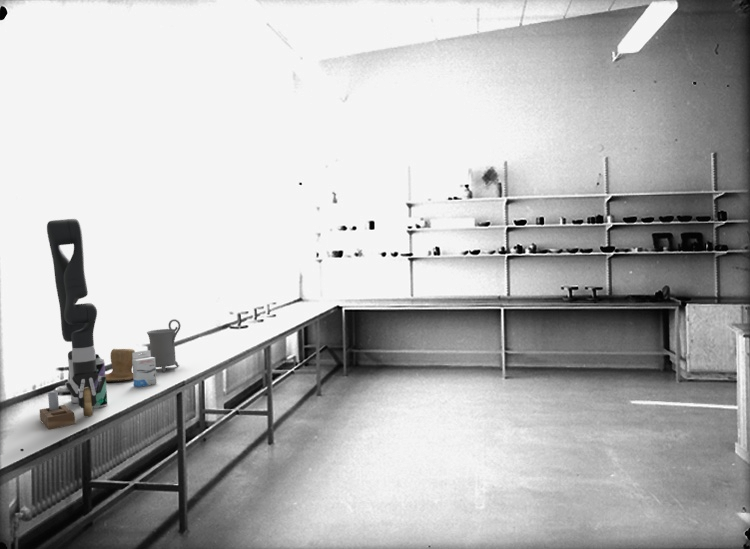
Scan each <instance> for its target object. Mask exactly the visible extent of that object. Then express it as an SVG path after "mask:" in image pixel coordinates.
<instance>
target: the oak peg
mask: <svg viewBox="0 0 750 549" xmlns="http://www.w3.org/2000/svg"><path fill="white" fill-rule="evenodd" d="M83 398H84V408H82V413H83V417H84V416H88V417H92V416H94V412H93V411H94V410H93V409H94V408H92V395H91V388H90V387H85V388H84V391H83Z"/></svg>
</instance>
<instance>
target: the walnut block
mask: <svg viewBox="0 0 750 549" xmlns="http://www.w3.org/2000/svg"><path fill="white" fill-rule="evenodd" d="M39 420H41V421H42V422H43V423H42V422H41V421H40V422H41V423H42V424H43V426H45V427H46V428H47V429H48V430H52V429H57V427H58V428H61V427H62V426H63V427H67V426H66V425H68V426H71V425H70V424H72V425H76V418H75V412H74V411H73V410H72V409H71V408H69V407H68V406H66V405H65V404H63V405H59V410H53V411H49V407H47V408H46V407H45V408H42V409H41V408H40V409H39ZM63 427H62V428H63Z"/></svg>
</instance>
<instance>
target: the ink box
mask: <svg viewBox="0 0 750 549" xmlns="http://www.w3.org/2000/svg"><path fill="white" fill-rule="evenodd" d="M132 357H133V360H132V364H133V366H132V373H133V379H132V380H133V386H134V387H137V388H140V387H145V386H146V387H147V386H151V384H152V385H156V383H157V382H158V381H157V369H156V368H157V367H156V364H155V357H151V352H150V349H148V350H141V351H140V350H139V351H135V352H133V353H132ZM157 384H158V383H157Z"/></svg>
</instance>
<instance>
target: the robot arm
mask: <svg viewBox="0 0 750 549" xmlns="http://www.w3.org/2000/svg"><path fill="white" fill-rule="evenodd" d="M46 233H47V238H48V242H49V248H50V253H51V257H52V262H53V270H54V271H53V272H54V279H55V280H54V281H55V287H56V293H57V299H58V304H59V312H60V322H61V324H60V325H61V334H62V335H61V336H62V338H63V340H64V341H65V342H69V343H71V347H72V350H70V351H68V352H67V353H68V354H67V361H68V373H69V381H66V382H65V383H64V385H65V387H66V388H67V390H68V391H69V393H70V398H71V399H70V400H71V403H73V404H78V407H80V409H83V408H84V398H83V391H84V388H85V387H90V388H91V395H92V406H95V404H96V394H98V393H100V392H101V390H102V388H103V385H104V382H105V380H106V377H104V376H99V375H98V374H97V370H96V355H95V354H96V350H95V343H94V330H95V324H96V321H97V320H96V319H97V316H98V309H97V307H96V306H95V304H93V303H91V302H85V303H78V301H79V300H80V299H84V298H85V297H87V296H88V294H89V293H88V284H87V281H86V274H85V263H84V262H85V260H84V244H83V243H84V242H83V233H82V227H81V223H80V221H79V220H78V219H77V218H68V219H54V220H50V221H48V222H47V224H46ZM64 245H65V246H66V245H73V253H72V255H71V258H70V259H69V258H68V257H67V256H66V255H65V254H64V252H63V250H62V249H61V246H64ZM97 378H98V381H99V383H98V386H97V388H96V390H95V387H94V383H95V381H96V380H97Z"/></svg>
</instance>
